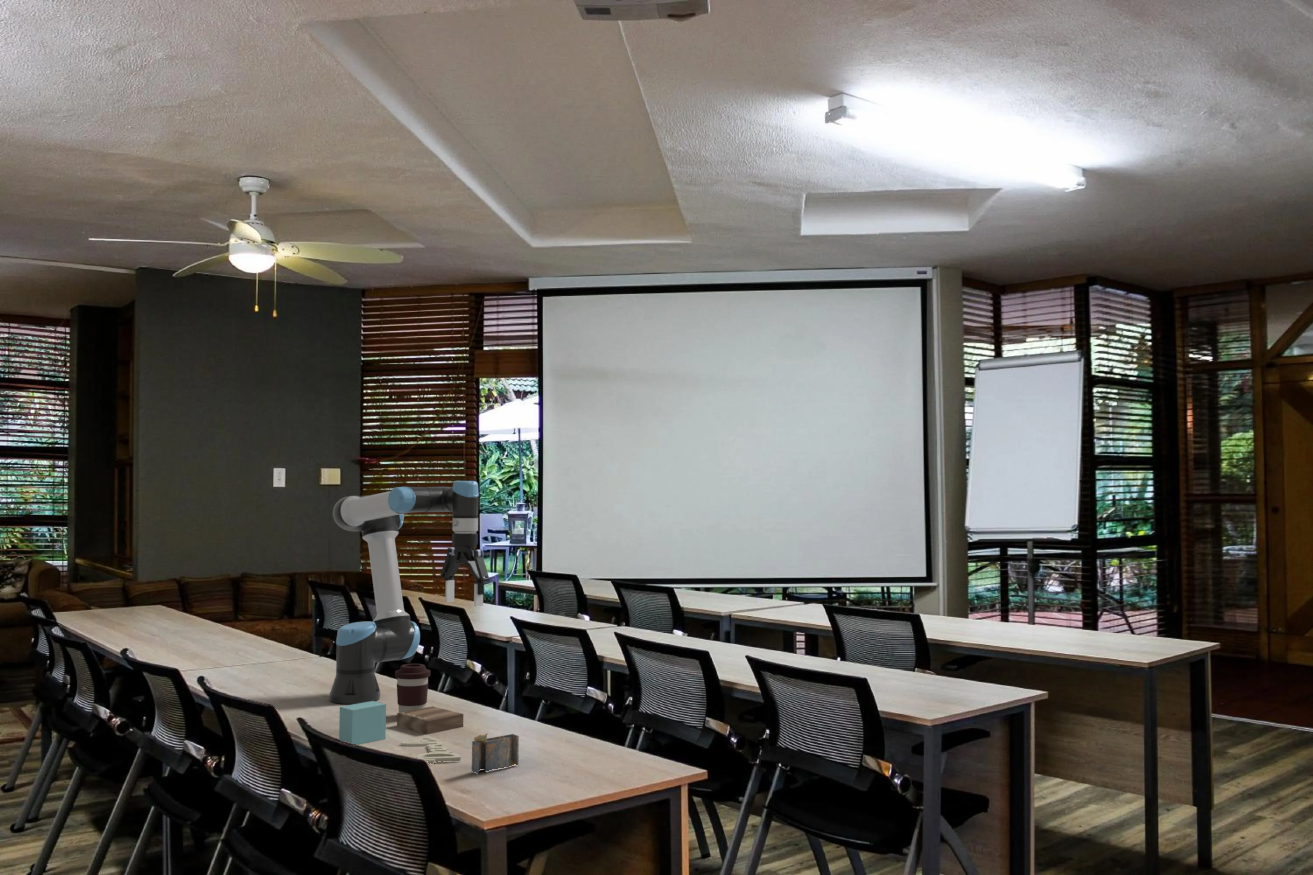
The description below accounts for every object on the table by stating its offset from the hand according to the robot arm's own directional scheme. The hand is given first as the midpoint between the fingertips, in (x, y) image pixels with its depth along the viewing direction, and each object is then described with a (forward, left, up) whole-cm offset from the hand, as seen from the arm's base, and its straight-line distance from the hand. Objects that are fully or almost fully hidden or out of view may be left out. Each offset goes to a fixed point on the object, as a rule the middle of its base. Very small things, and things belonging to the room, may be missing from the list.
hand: (463, 604), depth 312 cm
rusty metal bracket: (+55, -33, -32) cm, 72 cm away
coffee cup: (-4, -15, -32) cm, 35 cm away
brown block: (+10, -19, -32) cm, 38 cm away
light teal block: (+10, -40, -31) cm, 52 cm away
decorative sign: (+31, -35, -32) cm, 57 cm away
